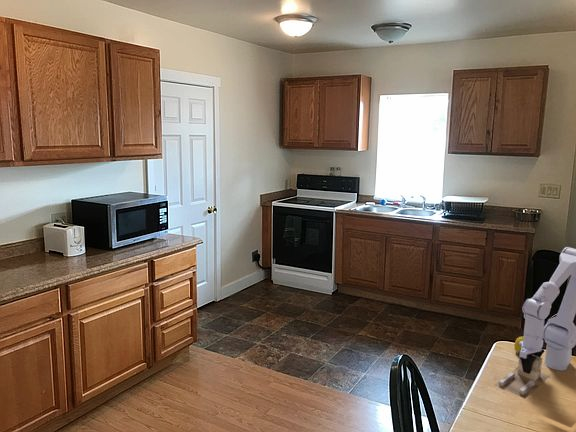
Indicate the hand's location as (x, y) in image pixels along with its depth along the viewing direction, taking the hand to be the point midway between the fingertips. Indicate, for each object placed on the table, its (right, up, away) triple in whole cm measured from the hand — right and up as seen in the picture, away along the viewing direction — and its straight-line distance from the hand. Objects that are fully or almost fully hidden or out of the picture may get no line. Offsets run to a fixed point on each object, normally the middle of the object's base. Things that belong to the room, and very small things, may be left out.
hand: (529, 370), depth 164 cm
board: (-4, -4, -3) cm, 6 cm away
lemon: (+5, 0, +16) cm, 17 cm away
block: (0, -2, 0) cm, 2 cm away
